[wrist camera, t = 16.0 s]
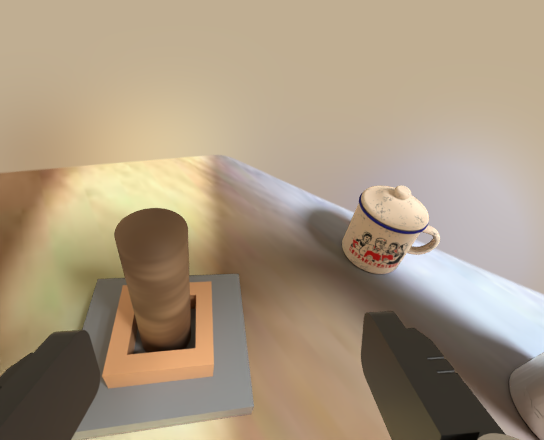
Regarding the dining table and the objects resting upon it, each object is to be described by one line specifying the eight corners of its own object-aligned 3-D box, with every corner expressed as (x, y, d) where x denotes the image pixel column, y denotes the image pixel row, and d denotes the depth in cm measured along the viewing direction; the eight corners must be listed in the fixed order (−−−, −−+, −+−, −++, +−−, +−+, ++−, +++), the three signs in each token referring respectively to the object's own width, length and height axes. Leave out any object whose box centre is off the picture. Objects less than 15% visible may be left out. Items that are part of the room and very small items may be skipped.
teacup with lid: (336, 264, 42) (367, 198, 34) (342, 224, 49) (369, 162, 41) (422, 292, 40) (474, 230, 33) (416, 247, 47) (457, 187, 40)
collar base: (237, 283, 37) (240, 259, 34) (251, 414, 26) (257, 395, 24) (101, 290, 33) (92, 263, 30) (57, 443, 23) (37, 425, 20)
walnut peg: (191, 313, 30) (188, 208, 21) (190, 356, 27) (186, 254, 18) (145, 316, 29) (121, 207, 20) (138, 362, 26) (107, 256, 17)
